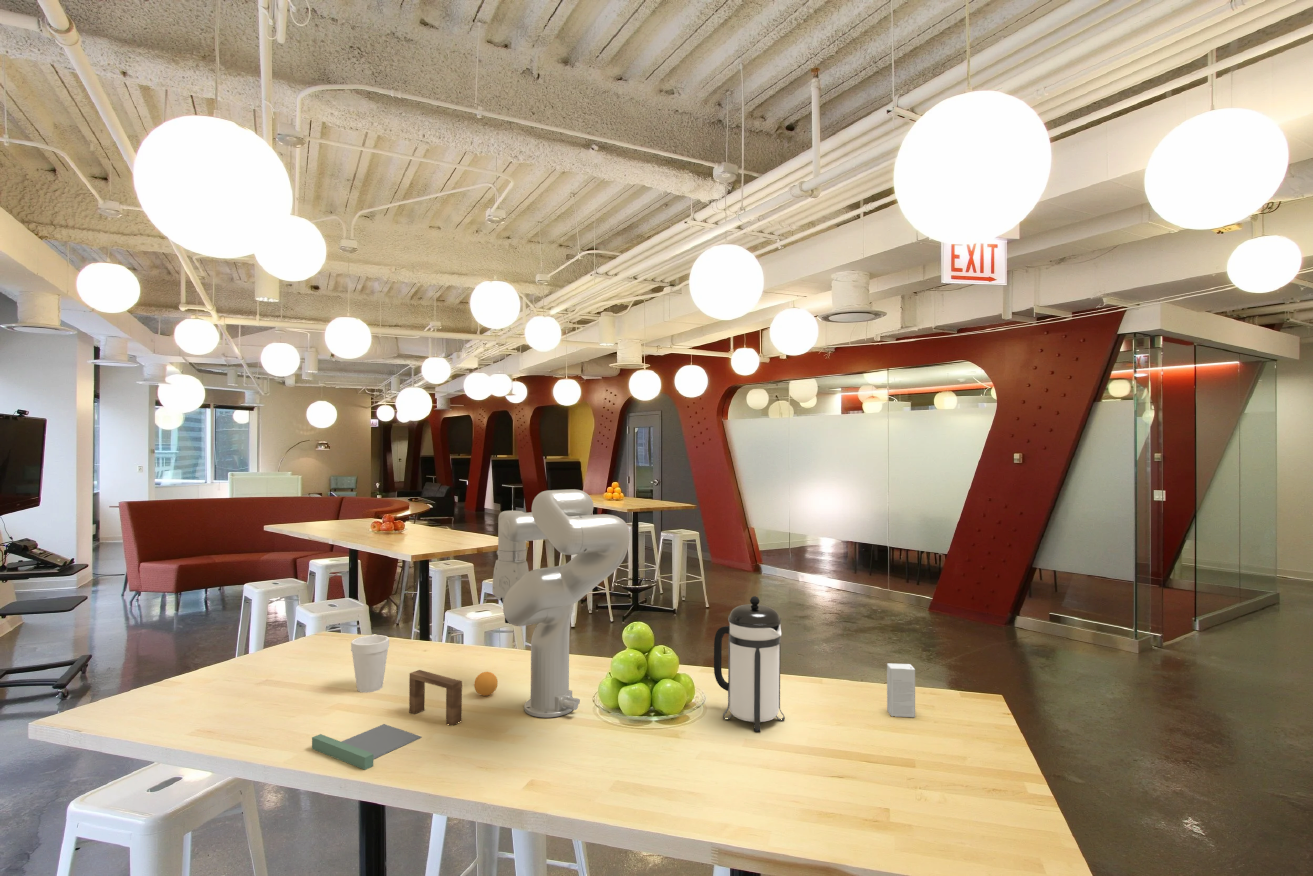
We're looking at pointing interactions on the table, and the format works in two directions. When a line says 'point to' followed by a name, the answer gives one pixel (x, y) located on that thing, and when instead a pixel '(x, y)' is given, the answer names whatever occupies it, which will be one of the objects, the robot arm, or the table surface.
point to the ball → (485, 683)
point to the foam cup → (369, 661)
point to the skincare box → (901, 690)
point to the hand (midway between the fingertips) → (511, 622)
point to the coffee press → (751, 663)
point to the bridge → (451, 685)
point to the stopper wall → (342, 751)
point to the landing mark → (381, 740)
